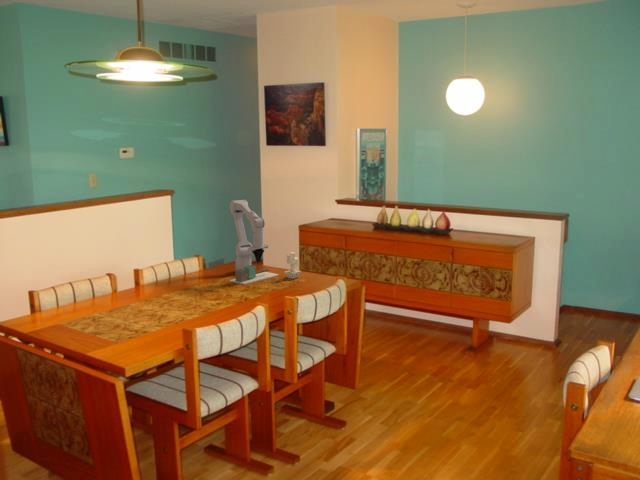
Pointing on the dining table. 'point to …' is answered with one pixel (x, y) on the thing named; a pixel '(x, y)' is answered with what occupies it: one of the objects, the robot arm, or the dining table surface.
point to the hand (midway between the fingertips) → (258, 261)
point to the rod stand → (243, 278)
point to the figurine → (292, 266)
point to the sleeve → (250, 271)
